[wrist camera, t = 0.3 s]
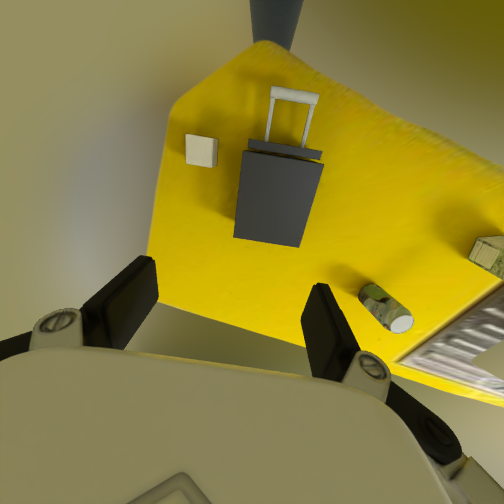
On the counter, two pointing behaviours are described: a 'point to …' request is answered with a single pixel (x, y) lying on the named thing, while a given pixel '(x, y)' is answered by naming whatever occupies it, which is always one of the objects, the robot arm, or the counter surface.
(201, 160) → the block
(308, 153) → the dark grey drawer
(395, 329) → the beverage can
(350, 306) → the counter surface
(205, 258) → the counter surface
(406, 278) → the counter surface
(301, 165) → the dark grey drawer box
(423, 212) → the counter surface
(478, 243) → the syrup box
